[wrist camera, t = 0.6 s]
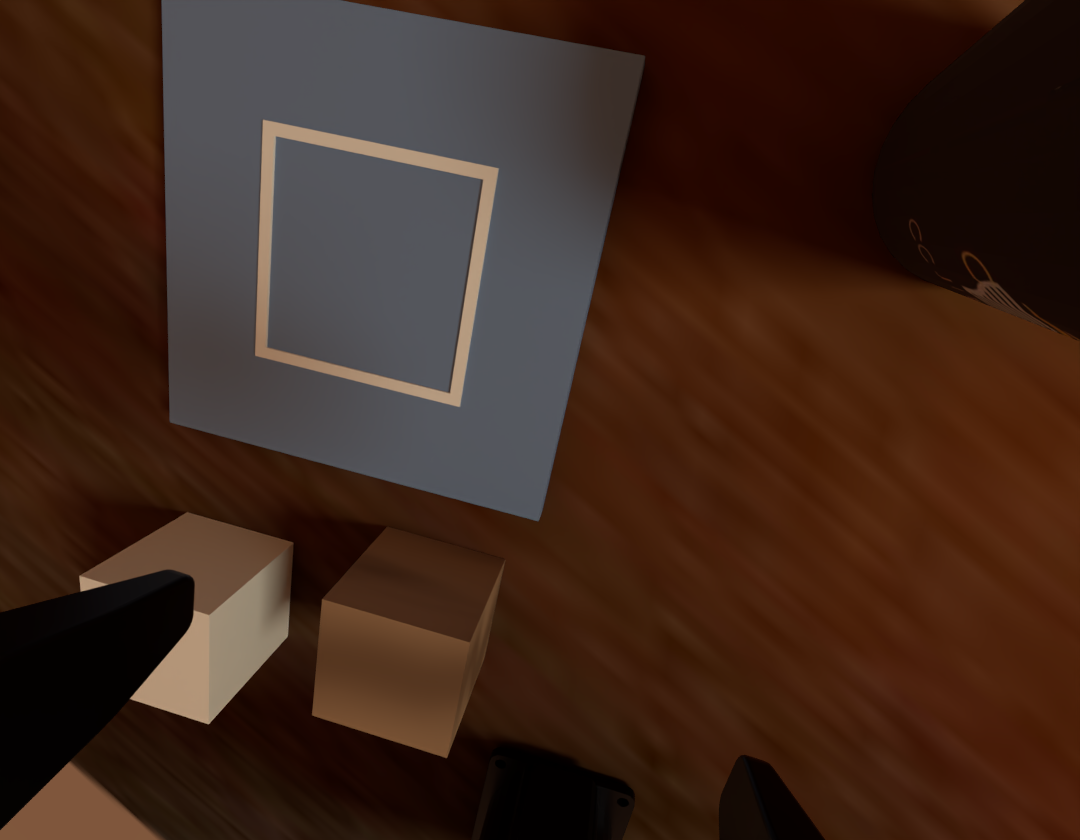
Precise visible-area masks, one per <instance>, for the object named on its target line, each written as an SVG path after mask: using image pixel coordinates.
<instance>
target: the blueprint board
mask: <svg viewBox="0 0 1080 840" xmlns="http://www.w3.org/2000/svg"><path fill="white" fill-rule="evenodd" d="M162 47H163V99H164V150H165V202H166V253H167V304H168V356H169V407H170V422H171V423H174V424H178V425H182V426H185V427H189V428H193V429H197V430H200V431H204V432H208V433H212V434H215V435H219V436H223V437H226V438H230V439H234V440H238V441H241V442H245V443H249V444H253V445H256V446H260V447H264V448H267V449H271V450H275V451H279V452H282V453H286V454H290V455H293V456H297V457H301V458H305V459H308V460H312V461H316V462H320V463H323V464H327V465H331V466H334V467H338V468H342V469H346V470H349V471H353V472H357V473H361V474H364V475H368V476H372V477H375V478H379V479H383V480H387V481H390V482H394V483H398V484H401V485H405V486H409V487H413V488H416V489H420V490H424V491H428V492H431V493H435V494H439V495H442V496H446V497H450V498H454V499H457V500H461V501H465V502H469V503H472V504H476V505H480V506H483V507H487V508H491V509H495V510H498V511H502V512H506V513H509V514H513V515H517V516H521V517H524V518H528V519H532V520H536V521H539V519H540V516H541V513H542V510H543V505H544V501H545V497H546V492H547V488H548V484H549V479H550V475H551V471H552V466H553V462H554V458H555V453H556V449H557V445H558V440H559V436H560V432H561V427H562V423H563V419H564V414H565V410H566V406H567V401H568V397H569V392H570V388H571V384H572V379H573V375H574V371H575V366H576V362H577V358H578V353H579V349H580V345H581V340H582V336H583V332H584V327H585V323H586V319H587V314H588V310H589V306H590V301H591V297H592V293H593V288H594V284H595V279H596V275H597V271H598V266H599V262H600V258H601V253H602V249H603V245H604V240H605V236H606V232H607V227H608V223H609V219H610V214H611V210H612V206H613V201H614V197H615V193H616V188H617V184H618V180H619V175H620V171H621V167H622V162H623V158H624V153H625V149H626V145H627V140H628V136H629V132H630V127H631V123H632V119H633V114H634V110H635V106H636V101H637V97H638V93H639V88H640V84H641V80H642V75H643V71H644V67H645V56H644V55H638V54H633V53H627V52H622V51H616V50H611V49H605V48H600V47H594V46H589V45H583V44H578V43H572V42H567V41H561V40H556V39H550V38H545V37H539V36H534V35H528V34H522V33H517V32H511V31H506V30H500V29H495V28H489V27H484V26H478V25H473V24H467V23H462V22H456V21H451V20H445V19H440V18H434V17H429V16H423V15H418V14H412V13H407V12H401V11H396V10H390V9H385V8H379V7H374V6H368V5H363V4H357V3H352V2H346V1H341V0H162Z"/></svg>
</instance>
